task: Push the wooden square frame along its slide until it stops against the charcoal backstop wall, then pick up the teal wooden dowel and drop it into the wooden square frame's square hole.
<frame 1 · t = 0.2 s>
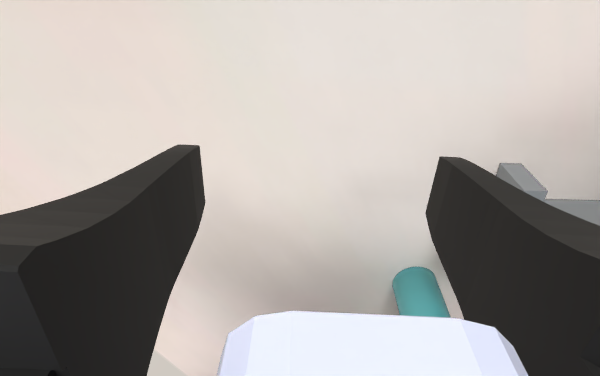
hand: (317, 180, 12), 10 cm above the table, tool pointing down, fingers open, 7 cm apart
dowel: (414, 282, 28), on the table
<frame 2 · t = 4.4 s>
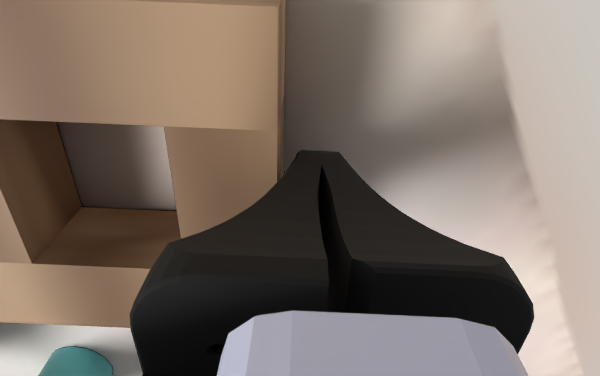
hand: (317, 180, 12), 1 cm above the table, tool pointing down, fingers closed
wooden square frame: (114, 175, 12), point 2 cm above the table, slide at 4.8 cm, touching gripper
dowel: (81, 366, 19), on the table
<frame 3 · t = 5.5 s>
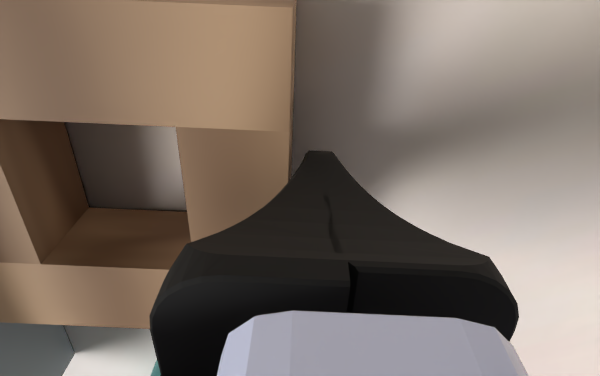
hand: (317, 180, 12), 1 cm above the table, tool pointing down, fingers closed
wooden square frame: (123, 175, 12), point 2 cm above the table, slide at -0.1 cm, touching gripper
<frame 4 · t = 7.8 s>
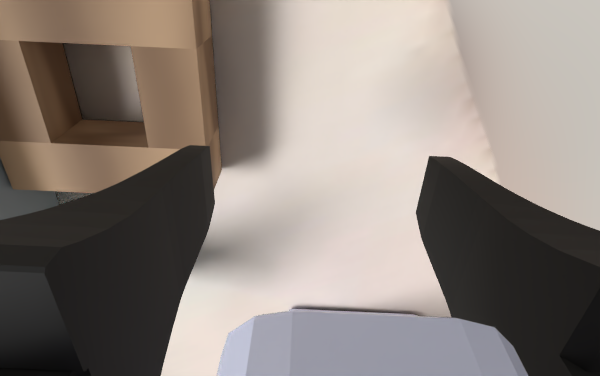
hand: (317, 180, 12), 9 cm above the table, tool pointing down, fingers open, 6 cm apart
wooden square frame: (103, 87, 19), point 2 cm above the table, slide at 0.0 cm
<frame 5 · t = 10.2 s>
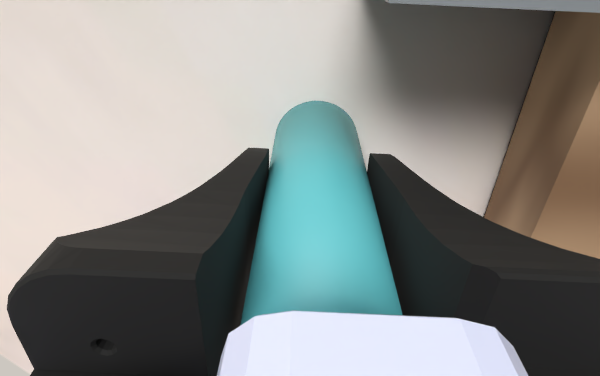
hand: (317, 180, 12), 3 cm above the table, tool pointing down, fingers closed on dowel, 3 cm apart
dowel: (316, 140, 14), on the table, touching gripper
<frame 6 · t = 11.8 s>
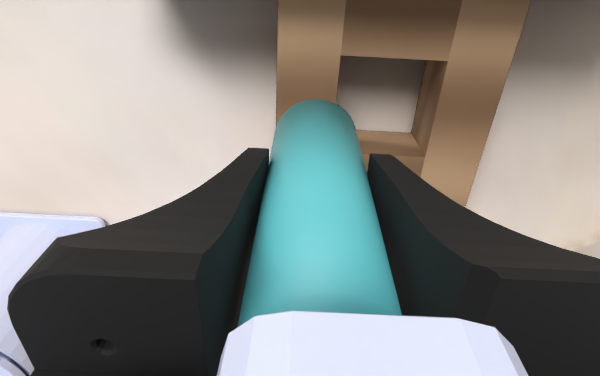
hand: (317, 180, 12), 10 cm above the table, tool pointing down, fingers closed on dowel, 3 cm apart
wooden square frame: (380, 99, 19), point 2 cm above the table, slide at 0.0 cm
dowel: (315, 138, 14), point 7 cm above the table, touching gripper
when the fingers open (4 cm above the table, at t = 13.7 s): dowel drops 2 cm, resting in wooden square frame.
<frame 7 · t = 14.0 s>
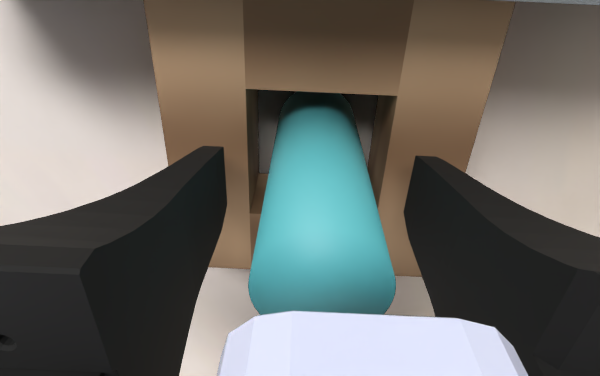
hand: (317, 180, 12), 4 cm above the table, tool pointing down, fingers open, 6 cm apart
wooden square frame: (316, 141, 14), point 2 cm above the table, slide at 0.0 cm
dowel: (316, 123, 16), resting in wooden square frame
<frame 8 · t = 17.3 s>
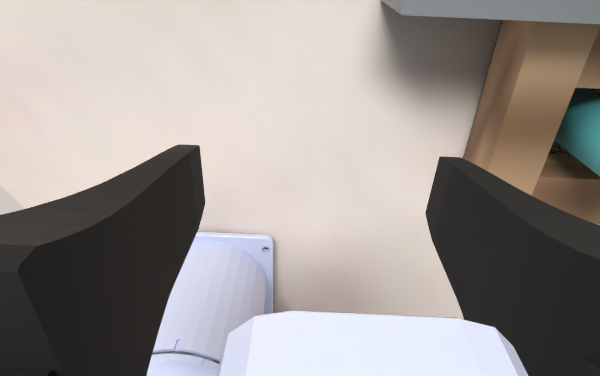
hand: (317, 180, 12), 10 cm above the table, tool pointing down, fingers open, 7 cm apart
wooden square frame: (585, 125, 20), point 2 cm above the table, slide at 0.0 cm
dowel: (568, 113, 22), resting in wooden square frame
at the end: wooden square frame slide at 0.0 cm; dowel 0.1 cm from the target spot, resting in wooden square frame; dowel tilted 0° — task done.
